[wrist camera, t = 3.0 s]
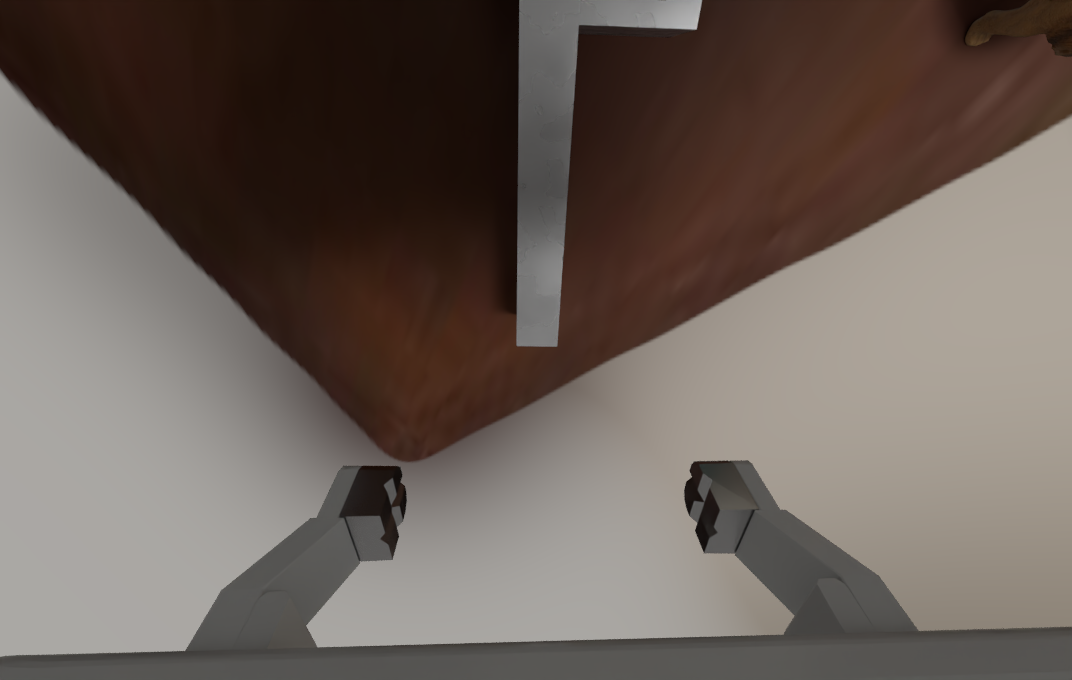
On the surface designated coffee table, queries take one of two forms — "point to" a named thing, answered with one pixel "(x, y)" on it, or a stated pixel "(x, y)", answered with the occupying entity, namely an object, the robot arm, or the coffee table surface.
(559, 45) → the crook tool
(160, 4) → the coffee table surface
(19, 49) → the coffee table surface
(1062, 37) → the lion figurine
